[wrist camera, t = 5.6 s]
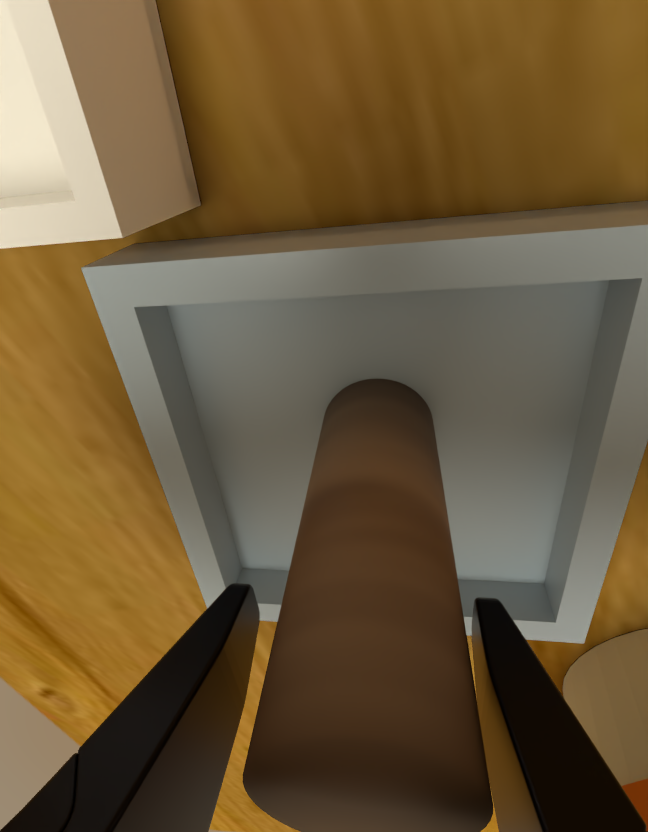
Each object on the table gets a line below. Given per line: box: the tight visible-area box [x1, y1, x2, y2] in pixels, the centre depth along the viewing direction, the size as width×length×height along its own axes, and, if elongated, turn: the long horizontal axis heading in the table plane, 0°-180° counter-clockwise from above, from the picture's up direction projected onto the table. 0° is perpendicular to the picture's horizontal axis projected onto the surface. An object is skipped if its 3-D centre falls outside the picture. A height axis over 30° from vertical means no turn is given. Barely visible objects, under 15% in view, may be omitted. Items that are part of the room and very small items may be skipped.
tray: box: [81, 201, 648, 644], centre depth 14 cm, size 13×13×2 cm
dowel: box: [243, 379, 493, 832], centre depth 10 cm, size 3×3×9 cm
